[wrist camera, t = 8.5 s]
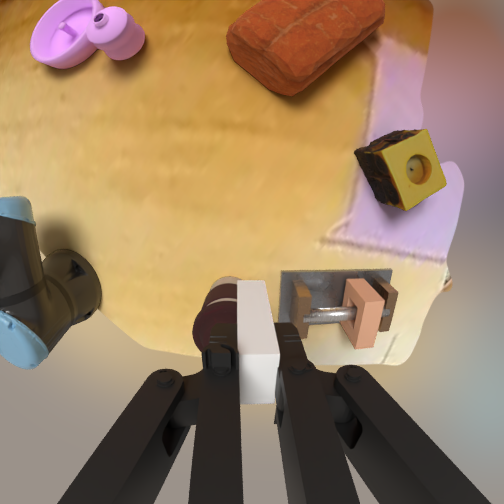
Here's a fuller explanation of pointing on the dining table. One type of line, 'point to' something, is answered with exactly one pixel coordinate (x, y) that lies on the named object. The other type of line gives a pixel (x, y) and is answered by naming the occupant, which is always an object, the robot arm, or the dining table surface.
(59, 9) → the container set
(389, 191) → the candle
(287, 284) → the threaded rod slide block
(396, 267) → the dining table surface
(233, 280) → the coffee cup
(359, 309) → the collar
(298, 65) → the bread
